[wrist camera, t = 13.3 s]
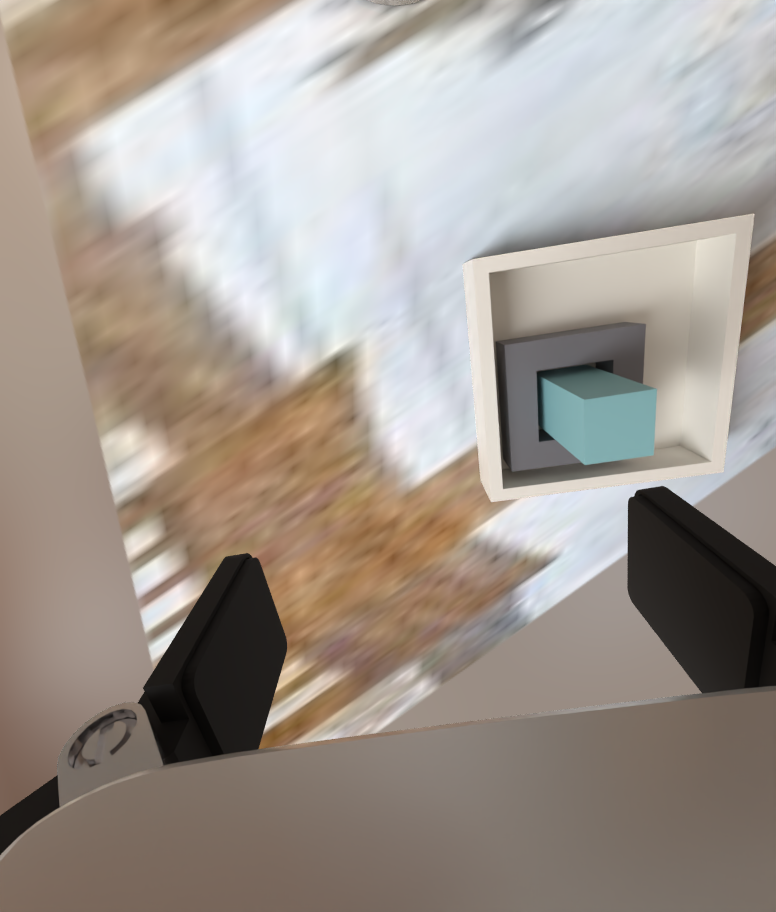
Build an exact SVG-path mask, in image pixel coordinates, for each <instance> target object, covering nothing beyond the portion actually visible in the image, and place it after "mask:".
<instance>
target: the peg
mask: <svg viewBox="0 0 776 912" xmlns="http://www.w3.org/2000/svg"><path fill="white" fill-rule="evenodd" d="M656 400H657V389H656V388H653V387H650V386H647V385H644V384H641V383H638V382H636V381H633V380H630V379H627V378H624V377H621V376H618V375H615V374H612V373H609V372H606V371H603V370H600V369H597V368H594V367H592V366H589V365H580V366H573V367H567V368H560V369H554V370H548V371H541V372H537V403H538V425H539V426H540V427H541V428H543V429H544V430H545V431H546V432H547V433H548V434H549V435H551V436H552V437H553V438H554V439H555V440H556V441H558V442H559V443H560V444H561V445H562V446H563V447H564V448H566V449H567V450H568V451H569V452H570V453H571V454H573V455H574V456H575V457H576V458H577V459H578V460H580V461H581V462H582V463H583V464H584V465H589V464H596V463H603V462H610V461H617V460H624V459H631V458H639V457H646V456H653V455H654V440H655V420H656Z"/></svg>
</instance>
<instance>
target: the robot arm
mask: <svg viewBox="0 0 776 912" xmlns="http://www.w3.org/2000/svg"><path fill="white" fill-rule="evenodd" d="M368 1H371V2H373V3H376V4H384V5H393V6H397V5H404V4H412V3H416V2H418V1H421V0H368ZM628 593H629V596H630V599H631V601H632V602H633V604H634V605H635V607H636V608H637V609H638V610H639V612H640V613H641V614H642V616H643V617H644V618H645V620H646V621H647V622H648V623H649V625H650V626H651V627H652V629H653V630H654V631H655V633H656V634H657V635H658V636H659V638H660V639H661V640H662V642H663V643H664V644H665V646H666V647H667V648H668V649H669V651H670V652H671V653H672V655H673V656H674V657H675V659H676V660H677V661H678V662H679V664H680V665H681V666H682V668H683V669H684V670H685V672H686V673H687V674H688V675H689V677H690V678H691V679H692V681H693V682H694V683H695V684H696V686H697V687H698V688H699V690H700V691H701V692H702V694H692V695H682V696H673V697H665V698H657V699H649V700H640V701H632V702H624V703H615V704H607V705H599V706H591V707H583V708H574V709H565V710H557V711H549V712H541V713H533V714H525V715H517V716H510V717H501V718H493V719H485V720H478V721H470V722H462V723H455V724H446V725H439V726H431V727H423V728H414V729H407V730H399V731H392V732H384V733H376V734H369V735H361V736H354V737H346V738H339V739H331V740H324V741H316V742H308V743H301V744H293V745H286V746H279V747H272V748H265V749H258V748H259V745H260V742H261V738H262V735H263V731H264V728H265V724H266V721H267V718H268V714H269V711H270V707H271V704H272V700H273V697H274V694H275V690H276V687H277V683H278V680H279V676H280V673H281V670H282V666H283V663H284V659H285V656H286V652H287V640H286V636H285V633H284V630H283V627H282V625H281V622H280V619H279V616H278V613H277V610H276V607H275V604H274V602H273V599H272V596H271V593H270V590H269V587H268V584H267V581H266V579H265V576H264V573H263V570H262V567H261V564H260V562H259V560H258V558H252V556H251V555H250V554H248V553H246V554H240V555H233V556H228V557H225V558H224V559H223V561H222V563H221V564H220V566H219V567H218V569H217V571H216V572H215V574H214V575H213V577H212V579H211V580H210V582H209V583H208V585H207V587H206V588H205V590H204V591H203V593H202V595H201V596H200V598H199V599H198V601H197V603H196V604H195V606H194V607H193V609H192V611H191V612H190V614H189V615H188V617H187V618H186V620H185V622H184V623H183V625H182V626H181V628H180V630H179V631H178V633H177V634H176V636H175V638H174V639H173V641H172V642H171V644H170V646H169V647H168V649H167V650H166V652H165V654H164V655H163V657H162V658H161V660H160V662H159V663H158V665H157V666H156V668H155V670H154V671H153V673H152V675H151V676H150V678H149V679H148V681H147V682H146V684H145V686H144V687H143V689H144V691H145V692H144V694H143V695H142V697H141V698H140V700H139V702H138V703H135V702H127V703H121V704H118V705H115V706H112V707H109V708H108V709H106V710H104V711H102V712H100V713H98V714H97V715H95V716H94V717H92V718H91V719H90V720H88V721H87V722H85V723H84V724H83V725H82V726H81V727H80V728H79V729H78V730H77V731H76V732H75V733H74V734H73V735H72V736H71V738H70V739H69V740H68V741H67V743H66V744H65V746H64V747H63V749H62V751H61V753H60V755H59V758H58V764H57V776H56V777H54V778H53V779H52V780H50V781H49V782H47V783H46V784H44V785H43V786H42V787H40V788H39V789H37V790H36V791H34V792H33V793H32V794H30V795H29V796H27V797H26V798H25V799H23V800H22V801H21V802H19V803H17V804H16V805H15V806H13V807H12V808H10V809H9V810H8V811H6V812H5V813H3V814H2V815H1V816H0V912H776V566H775V565H773V564H772V563H771V562H769V561H768V560H766V559H765V558H764V557H762V556H761V555H760V554H758V553H757V552H755V551H754V550H753V549H751V548H750V547H748V546H747V545H745V544H744V543H743V542H741V541H740V540H739V539H737V538H736V537H734V536H733V535H732V534H730V533H729V532H727V531H726V530H725V529H723V528H722V527H721V526H719V525H718V524H716V523H715V522H714V521H712V520H711V519H709V518H708V517H707V516H705V515H704V514H703V513H701V512H699V511H698V510H697V509H696V508H694V507H693V506H691V505H690V504H689V503H687V502H686V501H684V500H683V499H682V498H680V497H679V496H678V495H676V494H675V493H673V492H672V491H671V490H669V489H668V488H666V487H664V486H660V487H654V488H648V489H641V490H638V491H636V493H635V496H634V497H631V498H629V501H628Z"/></svg>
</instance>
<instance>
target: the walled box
mask: <svg viewBox="0 0 776 912" xmlns="http://www.w3.org/2000/svg"><path fill="white" fill-rule="evenodd" d="M754 216H755V213H753V214H747V215H741V216H735V217H729V218H722V219H716V220H710V221H704V222H698V223H692V224H685V225H679V226H673V227H667V228H661V229H655V230H648V231H642V232H636V233H630V234H624V235H618V236H611V237H605V238H599V239H593V240H587V241H581V242H574V243H568V244H562V245H556V246H550V247H544V248H537V249H531V250H525V251H519V252H513V253H507V254H500V255H494V256H488V257H482V258H476V259H472V260H470V261H468V262H466V263H464V264H462V266H463V278H464V290H465V302H466V314H467V326H468V338H469V349H470V361H471V373H472V385H473V397H474V409H475V421H476V433H477V445H478V457H479V469H480V480H481V482H482V484H483V486H484V488H485V491H486V493H487V495H488V497H489V499H490V501H491V502H496V501H503V500H511V499H519V498H527V497H534V496H542V495H550V494H558V493H566V492H573V491H581V490H589V489H597V488H604V487H612V486H620V485H628V484H635V483H643V482H651V481H659V480H666V479H674V478H682V477H690V476H697V475H705V474H713V473H721V472H724V463H725V455H726V447H727V439H728V430H729V422H730V414H731V406H732V397H733V389H734V381H735V373H736V364H737V356H738V348H739V340H740V331H741V323H742V315H743V307H744V298H745V290H746V282H747V273H748V265H749V257H750V249H751V240H752V232H753V224H754ZM580 365H589V366H592V367H594V368H597V369H600V370H603V371H606V372H609V373H612V374H615V375H618V376H621V377H624V378H627V379H630V380H633V381H636V382H638V383H641V384H644V385H647V386H650V387H653V388H656V389H657V400H656V420H655V440H654V455H653V456H646V457H639V458H631V459H624V460H617V461H610V462H603V463H596V464H589V465H584V464H583V463H582V462H581V461H580V460H578V459H577V458H576V457H575V456H574V455H573V454H571V453H570V452H569V451H568V450H567V449H566V448H564V447H563V446H562V445H561V444H560V443H559V442H558V441H556V440H555V439H554V438H553V437H552V436H551V435H549V434H548V433H547V432H546V431H545V430H544V429H543V428H541V427H540V426H539V425H538V403H537V372H541V371H548V370H554V369H560V368H567V367H573V366H580Z"/></svg>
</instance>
